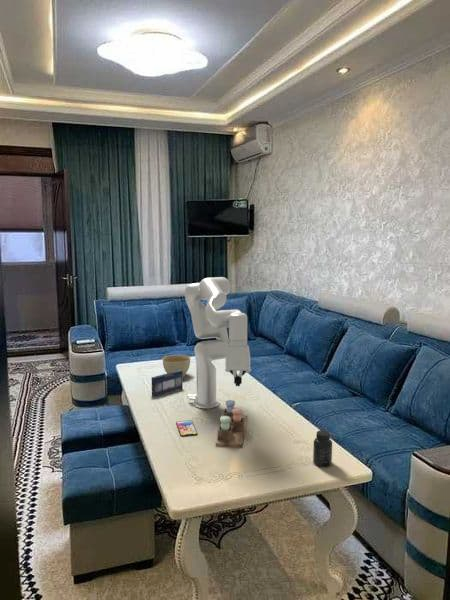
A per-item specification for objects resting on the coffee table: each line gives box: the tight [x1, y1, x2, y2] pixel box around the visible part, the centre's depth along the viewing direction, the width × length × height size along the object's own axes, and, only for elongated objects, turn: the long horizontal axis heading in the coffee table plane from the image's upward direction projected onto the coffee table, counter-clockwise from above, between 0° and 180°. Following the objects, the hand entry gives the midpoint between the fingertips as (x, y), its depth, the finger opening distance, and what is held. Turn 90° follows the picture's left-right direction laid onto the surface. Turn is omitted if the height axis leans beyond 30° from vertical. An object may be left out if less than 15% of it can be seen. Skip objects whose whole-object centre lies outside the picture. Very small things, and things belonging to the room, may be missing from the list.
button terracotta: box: [232, 407, 243, 422], centre depth 204 cm, size 4×4×6 cm
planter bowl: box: [162, 354, 191, 378], centre depth 277 cm, size 16×16×11 cm
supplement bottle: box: [312, 429, 333, 468], centre depth 177 cm, size 7×7×12 cm
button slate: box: [225, 399, 236, 413], centre depth 213 cm, size 4×4×6 cm
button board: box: [215, 408, 248, 448], centre depth 205 cm, size 10×29×5 cm, turn 173°
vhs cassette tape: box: [151, 370, 184, 398], centre depth 251 cm, size 18×3×10 cm, turn 131°
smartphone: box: [175, 419, 198, 438], centre depth 207 cm, size 7×1×15 cm
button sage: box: [219, 415, 231, 431], centre depth 195 cm, size 4×4×6 cm
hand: (237, 385), depth 201 cm, fingers closed
